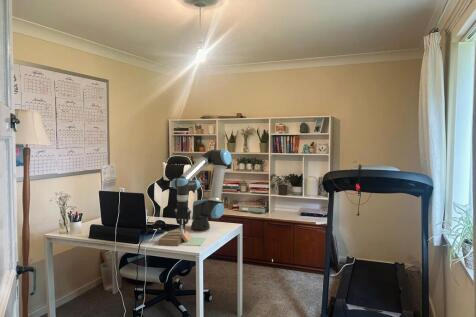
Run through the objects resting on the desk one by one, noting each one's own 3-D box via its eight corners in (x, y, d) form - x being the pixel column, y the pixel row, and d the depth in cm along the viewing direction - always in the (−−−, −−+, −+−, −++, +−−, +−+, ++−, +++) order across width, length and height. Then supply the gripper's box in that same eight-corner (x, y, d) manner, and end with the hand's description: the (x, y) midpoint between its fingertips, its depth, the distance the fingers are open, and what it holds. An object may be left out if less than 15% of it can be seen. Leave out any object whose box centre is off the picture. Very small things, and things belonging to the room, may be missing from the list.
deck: (169, 236, 258) (169, 230, 258) (187, 236, 256) (187, 231, 256) (158, 245, 237) (158, 239, 237) (178, 245, 235) (178, 240, 234)
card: (184, 232, 250) (186, 230, 249) (189, 239, 249) (191, 237, 249) (180, 235, 241) (183, 234, 240) (186, 242, 240) (188, 241, 240)
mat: (188, 237, 254) (188, 237, 254) (207, 238, 252) (207, 237, 252) (180, 245, 237) (180, 244, 236) (200, 245, 234) (200, 245, 234)
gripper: (171, 201, 241) (171, 234, 243) (189, 201, 239) (189, 235, 241) (175, 199, 249) (175, 231, 250) (192, 199, 246) (192, 232, 248)
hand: (182, 233), depth 245 cm, fingers closed
